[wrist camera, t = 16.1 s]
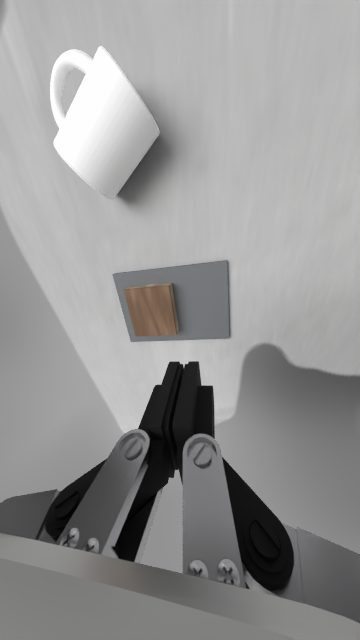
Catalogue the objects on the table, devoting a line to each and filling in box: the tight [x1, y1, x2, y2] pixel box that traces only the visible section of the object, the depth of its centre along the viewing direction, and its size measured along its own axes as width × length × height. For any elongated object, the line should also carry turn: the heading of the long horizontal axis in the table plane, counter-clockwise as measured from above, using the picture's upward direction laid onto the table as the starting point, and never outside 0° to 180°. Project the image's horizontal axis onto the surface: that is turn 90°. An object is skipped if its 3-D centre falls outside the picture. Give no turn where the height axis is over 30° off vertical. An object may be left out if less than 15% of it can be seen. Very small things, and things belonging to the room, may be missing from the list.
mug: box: [50, 46, 160, 199], centre depth 22 cm, size 12×10×8 cm
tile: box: [124, 283, 179, 337], centre depth 33 cm, size 2×9×8 cm
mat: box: [113, 260, 229, 342], centre depth 33 cm, size 20×14×1 cm
